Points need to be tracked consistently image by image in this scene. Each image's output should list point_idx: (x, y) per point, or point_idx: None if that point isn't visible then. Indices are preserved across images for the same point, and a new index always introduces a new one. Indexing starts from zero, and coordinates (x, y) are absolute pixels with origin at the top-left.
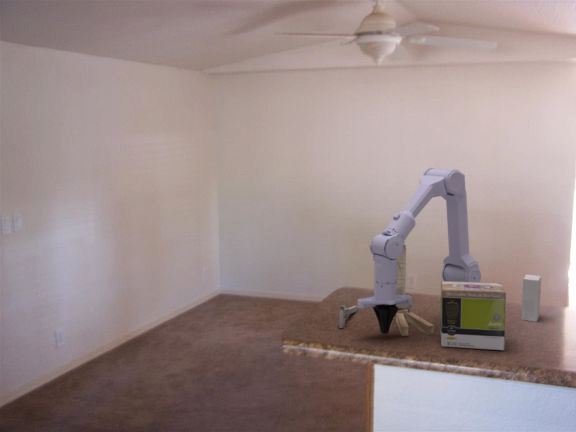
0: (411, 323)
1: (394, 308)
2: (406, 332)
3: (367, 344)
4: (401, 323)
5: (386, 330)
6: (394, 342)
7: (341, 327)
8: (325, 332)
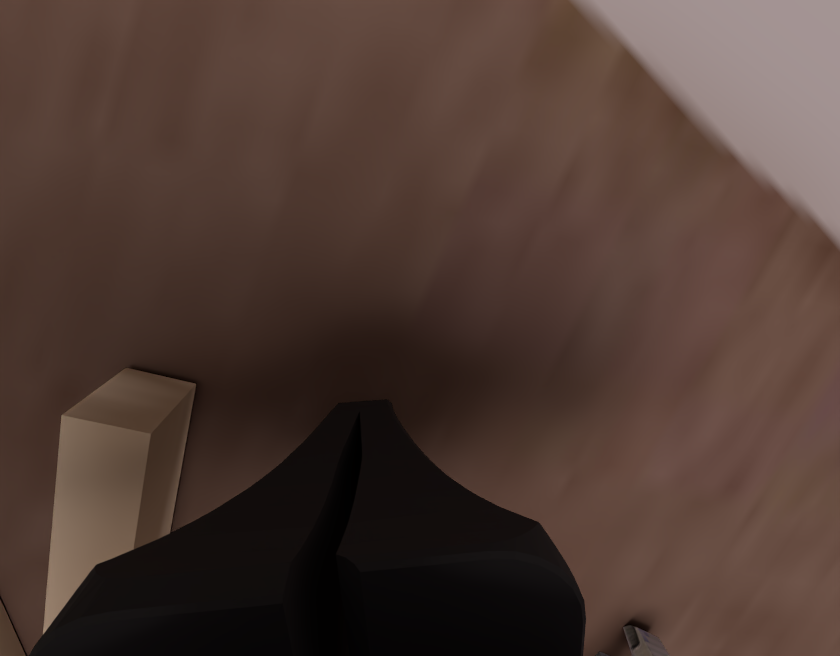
0: (6, 644)
1: (150, 613)
2: (126, 389)
3: (617, 244)
4: (122, 539)
5: (361, 410)
6: (331, 235)
7: (645, 632)
8: (787, 575)
